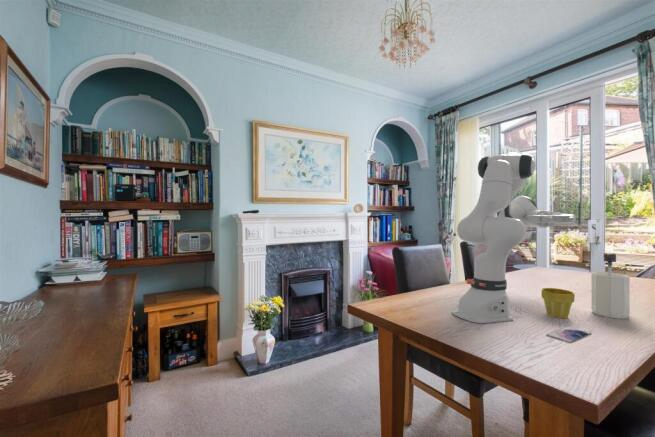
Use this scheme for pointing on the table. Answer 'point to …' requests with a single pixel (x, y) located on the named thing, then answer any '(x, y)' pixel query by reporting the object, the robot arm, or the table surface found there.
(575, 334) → the smartphone
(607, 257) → the plunger
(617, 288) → the press carafe
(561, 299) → the plant pot
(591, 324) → the table surface
